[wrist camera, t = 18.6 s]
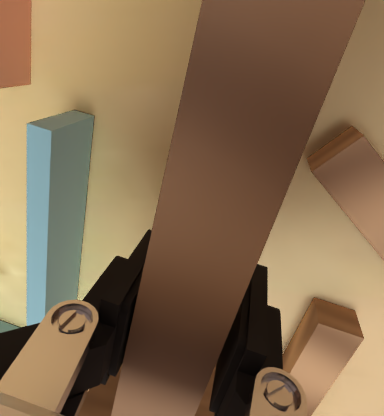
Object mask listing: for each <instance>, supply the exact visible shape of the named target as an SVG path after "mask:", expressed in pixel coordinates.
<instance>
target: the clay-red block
mask: <svg viewBox="0 0 384 416" xmlns="http://www.w3.org/2000/svg"><path fill="white" fill-rule="evenodd" d="M29 84H31V0H0V88H6V87H13V86H21V85H29Z"/></svg>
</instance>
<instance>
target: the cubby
mask: <svg viewBox="0 0 384 416" xmlns="http://www.w3.org/2000/svg"><path fill="white" fill-rule="evenodd" d="M93 124H94V116H93V115H90V114H86V113H83V112H79V111H76V110H72V111H69V112H65V113H62V114H58V115H55V116H51V117H48V118H44V119H40V120H37V121H33V122H30V123H27V326H29V325H33V324H37V323H41V321H42V320H43V318H44V317H45V315H46V314H47V313H48V311H49V310H50V309H51V308H52V307H53V306H55V305H57V304H58V303H60V302H63V301H67V300H77V292H78V282H79V271H80V261H81V250H82V240H83V229H84V218H85V208H86V197H87V187H88V176H89V166H90V155H91V145H92V134H93ZM17 328H20V327H17V326H14V325H12V324H9V323H6V322H3V321H1V320H0V333H2V332H6V331H10V330H14V329H17Z"/></svg>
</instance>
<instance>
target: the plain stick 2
mask: <svg viewBox="0 0 384 416" xmlns="http://www.w3.org/2000/svg"><path fill="white" fill-rule="evenodd" d="M363 339H364V337H363V334H362V331H361V328H360V324H359V321H358V318H357V315H356V312H355V311H354V310H351V309H348V308H345V307H342V306H339V305H336V304H333V303H330V302H327V301H324V300H321V299H318V298H315V297H314V299H313V300H312V302H311V304H310V306H309V308H308V310H307V312H306V313H305V315H304V317H303V319H302V321H301V323H300V325H299V326H298V328H297V330H296V332H295V334H294V336H293V338H292V339H291V341H290V343H289V345H288V347H287V349H286V351H285V352H284V354H283V356H282V357H283V370H284V371H286V372H287V373H289V374H291V375H292V376H293V377H294V378H295V379H296V380H297V381H298V382H299V384H300V385H301V386H302V388H303V390H304V392H305V394H306V399H307V416H311V415H312V414H313V412H314V411H315V409H316V408H317V406H318V405H319V403H320V402H321V400H322V399H323V398H324V396H325V395H326V393H327V392H328V390H329V389H330V387H331V386H332V384H333V383H334V382H335V380H336V379H337V377H338V376H339V374H340V373H341V371H342V370H343V368H344V367H345V366H346V364H347V363H348V361H349V360H350V358H351V357H352V355H353V354H354V352H355V351H356V350H357V348H358V347H359V345H360V344H361V342H362V341H363Z"/></svg>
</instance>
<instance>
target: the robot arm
mask: <svg viewBox="0 0 384 416" xmlns="http://www.w3.org/2000/svg"><path fill="white" fill-rule="evenodd" d="M151 232H152V230H148V231H147V232H146V234H145V235H144V237H143V238H142V240H141V241H140V243H139V244H138V245H137V247H136V248H135V250H134V251H133V253H132V254H131V256H130V257H129V259H126V258H123V257H120V256H116V257H115V258H114V259H113V261H112V262H111V263H110V265H109V266H108V267H107V269H106V270H105V271H104V272H103V274H102V275H101V276H100V278H99V279H98V280H97V282H96V283H95V284H94V286H93V287H92V288H91V290H90V291H89V292H88V294H87V295H86V296H85V298H84V299H83V300H82V301H81V300H67V301H63V302H60V303H58V304H57V305H55V306H53V307H52V308H51V309H50V310H49V311H48V313H47V314H46V315H45V317H44V318H43V320H42V321H41V323H37V324H33V325H29V326H25V327H21V328H17V329H14V330H10V331H6V332H2V333H0V416H78V414H79V412H80V410H81V407H82V405H83V403H84V400H85V398H86V395H87V393H88V389H91V388H93V387H96V386H98V385H100V384H103V385H106V383H107V381H108V379H109V377H110V375H112V376H114V377H116V375H117V373H118V371H119V369H120V367H121V365H122V363H123V359H124V355H125V350H126V346H127V341H128V337H129V332H130V328H131V323H132V318H133V314H134V309H135V305H136V300H137V296H138V291H139V287H140V282H141V278H142V273H143V268H144V264H145V259H146V255H147V250H148V246H149V241H150V237H151ZM209 411H211V412H214V416H307V399H306V394H305V392H304V390H303V388H302V386H301V385H300V384H299V382H298V381H297V380H296V379H295V378H294V377H293V376H292V375H291V374H289V373H287V372H286V371H284V370H283V357H282V336H281V316H280V310H279V309H277V308H274V307H271V306H268V305H267V267H265V266H262V265H258V264H257V265H256V268H255V270H254V273H253V275H252V278H251V280H250V282H249V285H248V287H247V290H246V292H245V295H244V297H243V299H242V302H241V304H240V307H239V309H238V312H237V314H236V317H235V319H234V321H233V324H232V326H231V329H230V331H229V334H228V336H227V338H226V341H225V343H224V346H223V348H222V351H221V353H220V355H219V358H218V360H217V364H216V370H215V376H214V382H213V388H212V394H211V400H210V406H209Z"/></svg>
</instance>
